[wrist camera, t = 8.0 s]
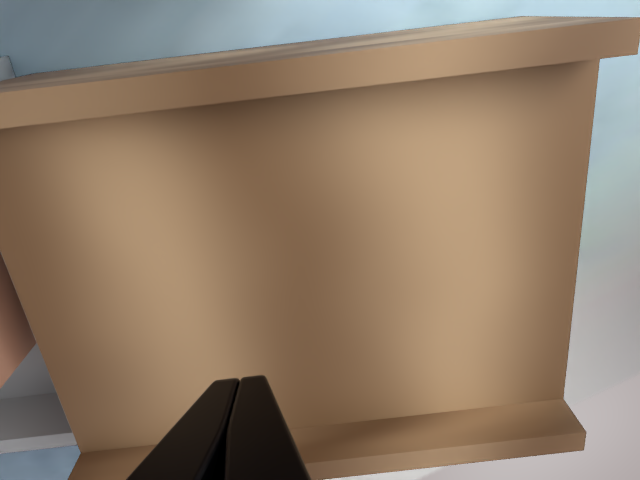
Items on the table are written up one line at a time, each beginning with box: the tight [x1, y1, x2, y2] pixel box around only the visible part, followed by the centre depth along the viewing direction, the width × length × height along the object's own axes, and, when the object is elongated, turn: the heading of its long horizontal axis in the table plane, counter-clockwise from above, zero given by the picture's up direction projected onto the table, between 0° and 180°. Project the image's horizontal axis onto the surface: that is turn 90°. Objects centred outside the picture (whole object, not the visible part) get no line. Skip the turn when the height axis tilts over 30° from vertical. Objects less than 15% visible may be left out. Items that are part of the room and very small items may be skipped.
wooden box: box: [0, 16, 640, 480], centre depth 13 cm, size 13×10×5 cm
